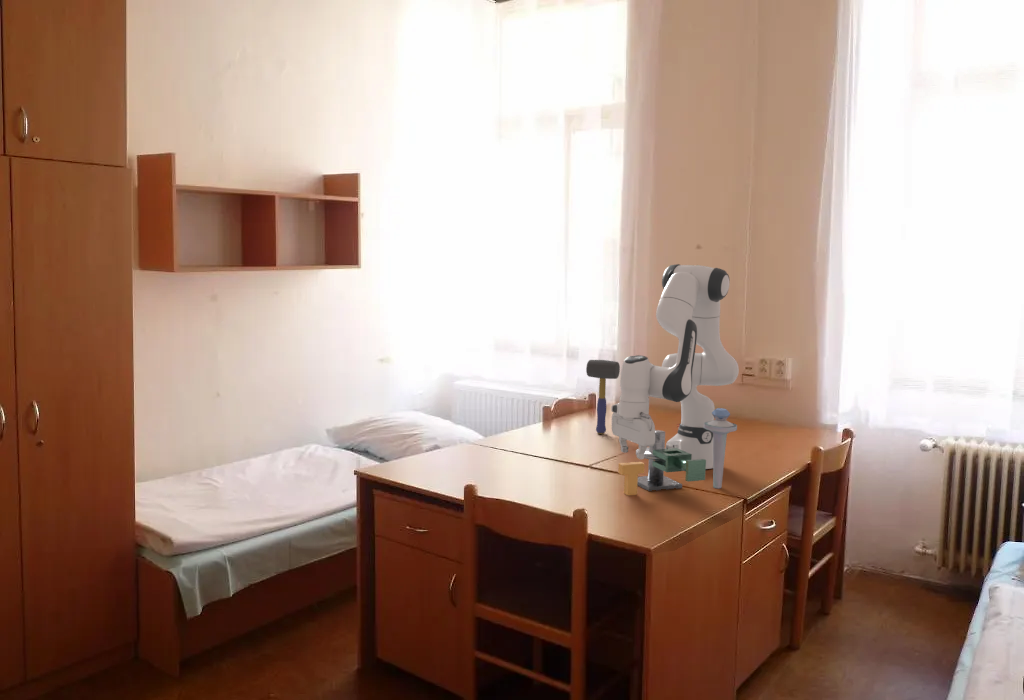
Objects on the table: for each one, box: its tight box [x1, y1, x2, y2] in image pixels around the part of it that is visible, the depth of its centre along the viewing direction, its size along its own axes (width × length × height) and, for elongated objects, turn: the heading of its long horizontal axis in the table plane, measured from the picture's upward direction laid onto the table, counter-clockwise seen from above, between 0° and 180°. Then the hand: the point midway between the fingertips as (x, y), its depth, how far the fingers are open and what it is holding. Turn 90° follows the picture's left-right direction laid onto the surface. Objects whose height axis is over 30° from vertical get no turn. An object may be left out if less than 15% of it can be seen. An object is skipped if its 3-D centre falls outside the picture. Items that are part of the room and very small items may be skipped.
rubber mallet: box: [585, 359, 621, 435], centre depth 346 cm, size 12×8×30 cm, turn 67°
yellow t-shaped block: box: [617, 461, 646, 496], centre depth 262 cm, size 2×8×10 cm, turn 112°
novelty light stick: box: [704, 407, 738, 489], centre depth 271 cm, size 10×10×25 cm
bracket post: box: [635, 429, 707, 492], centre depth 266 cm, size 29×13×17 cm, turn 22°
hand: (632, 455), depth 261 cm, fingers open, 8 cm apart
